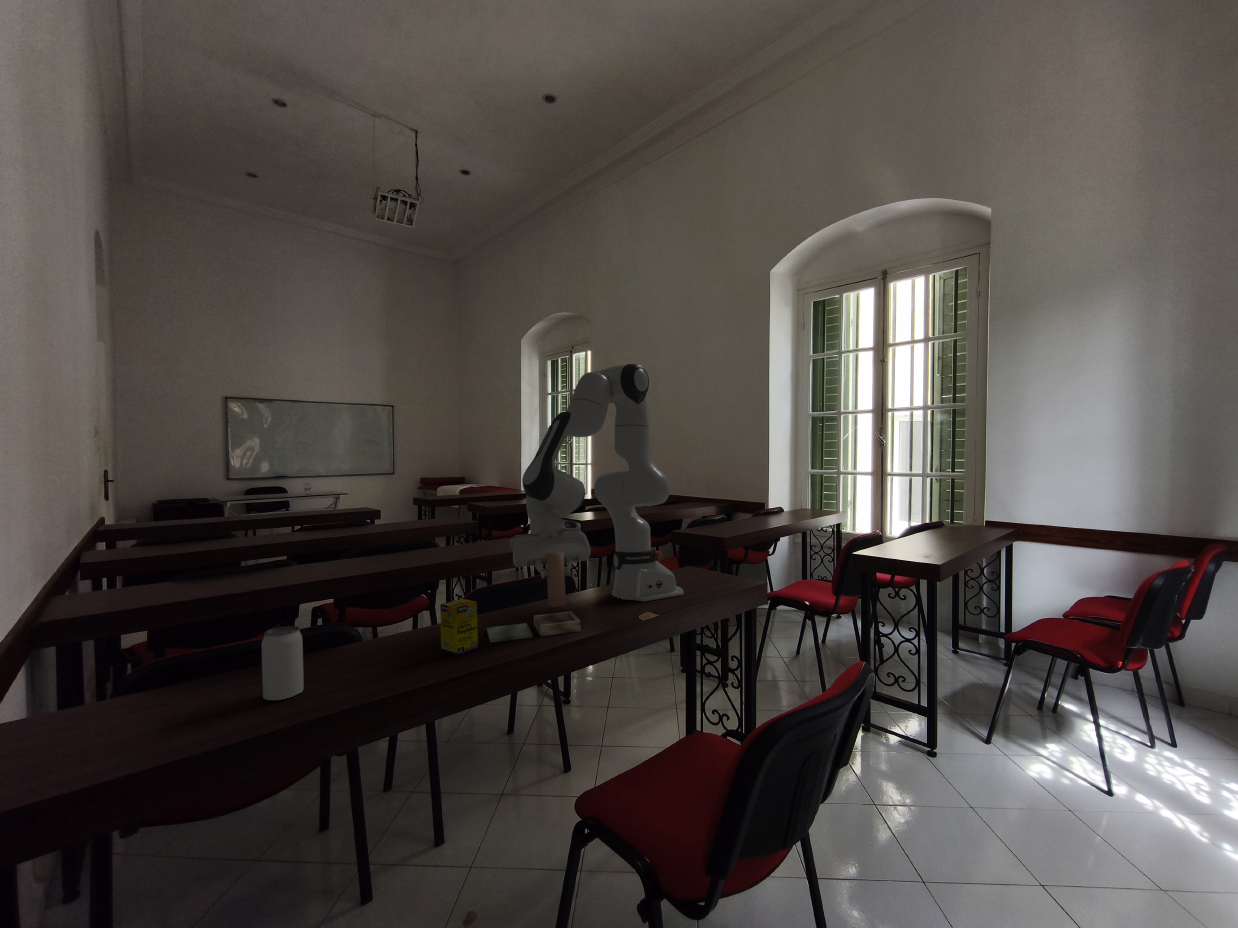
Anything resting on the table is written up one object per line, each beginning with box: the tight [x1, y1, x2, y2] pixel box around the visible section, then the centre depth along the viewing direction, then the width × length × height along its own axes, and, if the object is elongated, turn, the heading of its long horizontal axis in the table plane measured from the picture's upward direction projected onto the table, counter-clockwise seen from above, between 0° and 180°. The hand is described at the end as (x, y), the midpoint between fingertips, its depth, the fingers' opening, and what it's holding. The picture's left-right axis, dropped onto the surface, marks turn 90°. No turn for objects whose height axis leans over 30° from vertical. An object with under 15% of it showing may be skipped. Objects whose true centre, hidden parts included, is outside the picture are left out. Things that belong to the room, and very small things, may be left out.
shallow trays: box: [486, 611, 582, 643], centre depth 138 cm, size 22×10×2 cm, turn 108°
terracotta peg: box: [546, 552, 567, 607], centre depth 140 cm, size 4×4×13 cm
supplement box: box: [439, 598, 479, 657], centre depth 125 cm, size 6×6×11 cm
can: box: [261, 625, 304, 701], centre depth 102 cm, size 6×6×12 cm
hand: (556, 575), depth 139 cm, fingers closed on terracotta peg, 4 cm apart
